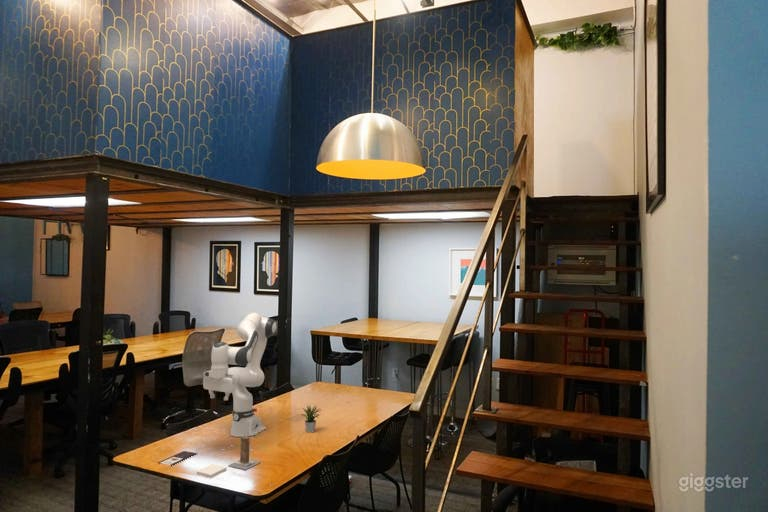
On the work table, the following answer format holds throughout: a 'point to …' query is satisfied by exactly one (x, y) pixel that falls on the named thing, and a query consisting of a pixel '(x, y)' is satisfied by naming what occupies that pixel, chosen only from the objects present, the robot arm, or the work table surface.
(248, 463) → the wood block on plate
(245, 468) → the slate mat
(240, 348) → the robot arm
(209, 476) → the tile
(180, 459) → the chocolate bar
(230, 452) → the work table surface
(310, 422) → the house plant
